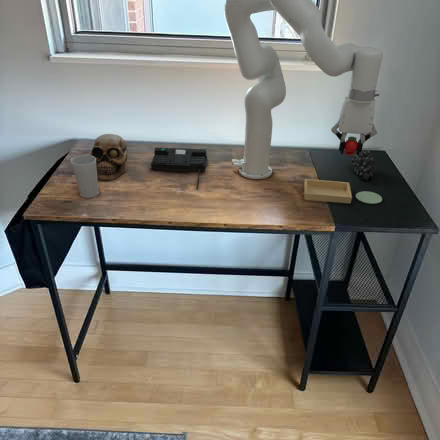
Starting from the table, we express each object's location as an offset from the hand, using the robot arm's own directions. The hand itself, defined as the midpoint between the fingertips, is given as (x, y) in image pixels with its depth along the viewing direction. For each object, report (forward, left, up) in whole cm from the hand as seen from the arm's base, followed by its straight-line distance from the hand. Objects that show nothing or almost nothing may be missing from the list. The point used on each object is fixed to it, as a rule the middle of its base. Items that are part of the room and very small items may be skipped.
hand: (349, 152), depth 146 cm
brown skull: (-85, +6, -16) cm, 87 cm away
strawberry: (0, 0, 0) cm, 0 cm away
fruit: (+9, +19, -16) cm, 26 cm away
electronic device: (-60, +10, -16) cm, 63 cm away
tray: (-5, 0, -16) cm, 16 cm away
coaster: (+10, 0, -16) cm, 18 cm away
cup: (-86, -14, -16) cm, 88 cm away
